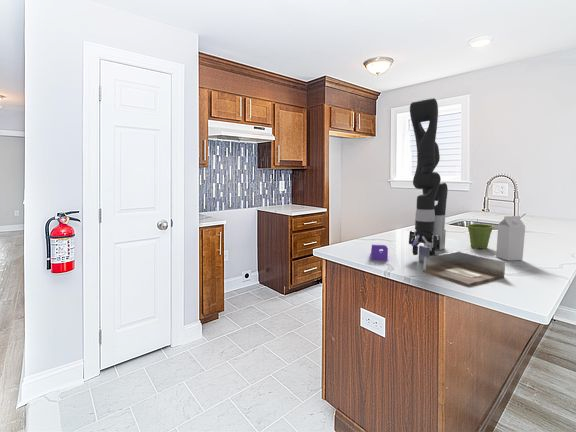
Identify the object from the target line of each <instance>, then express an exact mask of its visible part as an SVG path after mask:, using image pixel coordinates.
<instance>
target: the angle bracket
mask: <svg viewBox="0 0 576 432" xmlns="http://www.w3.org/2000/svg"><path fill="white" fill-rule="evenodd" d="M429 251H430V249H429V247H426V246H424V245H418V262H420V263H422V264H424V257H426V256H429Z"/></svg>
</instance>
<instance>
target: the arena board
mask: <svg viewBox="0 0 576 432" xmlns="http://www.w3.org/2000/svg"><path fill="white" fill-rule="evenodd" d="M422 270H423V273H426V274H429V275H432V276H435V277H438V278H441V279H444V280H448V281H450V282H453V283H456V284H460V285H463V286H465V287H473V286H476V285H479V284H480V285H482V284H485V283H488V282H493V281H496V280H500V279H504V278H505V274H504V275H499V274H495V273H491V272H487V271H483V270H480V269H476V268H472V267H468V266H465V265H461V264H455V265H450V266H444V267H439V268H434V269H429V270H424V269H422Z"/></svg>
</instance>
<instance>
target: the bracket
mask: <svg viewBox="0 0 576 432" xmlns="http://www.w3.org/2000/svg"><path fill="white" fill-rule="evenodd" d="M388 249H389V248H388V246H387V245H385V244H371V249H370V257H371V258H370V260H371V261H387V262H388V257H389V256H388V255H389V250H388Z"/></svg>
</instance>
